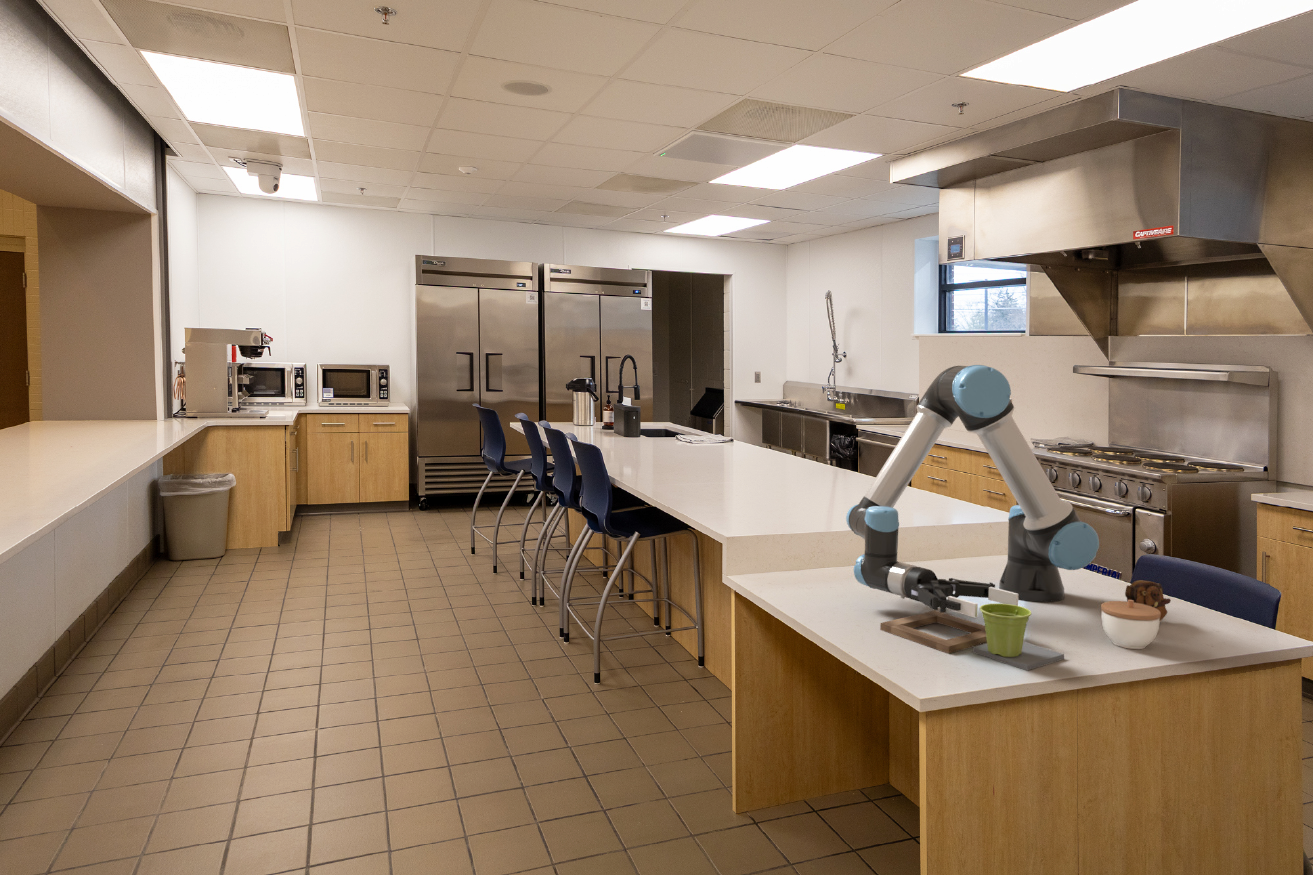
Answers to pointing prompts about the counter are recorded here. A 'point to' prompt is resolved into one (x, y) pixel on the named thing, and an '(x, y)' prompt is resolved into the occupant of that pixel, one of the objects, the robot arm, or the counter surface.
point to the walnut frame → (905, 630)
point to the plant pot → (1005, 628)
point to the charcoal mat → (1024, 656)
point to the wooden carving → (1148, 595)
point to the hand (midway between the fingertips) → (997, 605)
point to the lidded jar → (1130, 623)
